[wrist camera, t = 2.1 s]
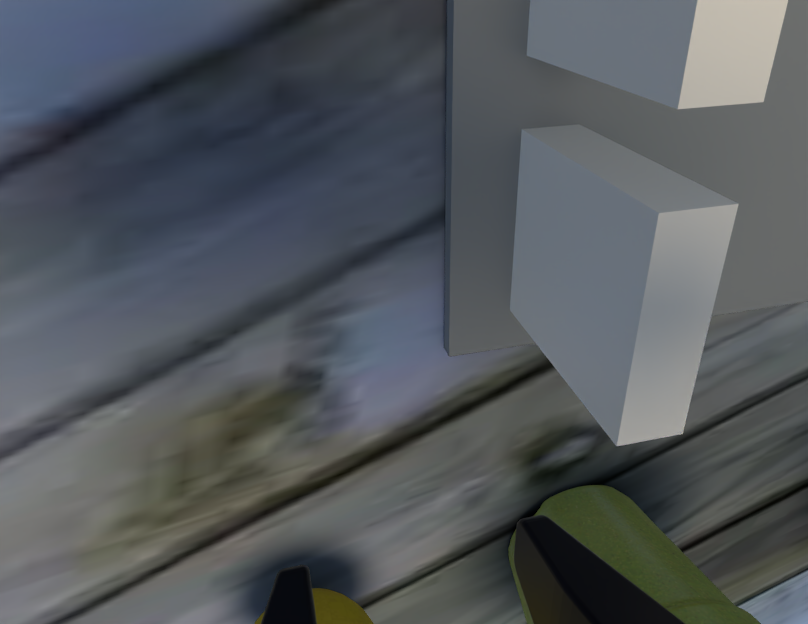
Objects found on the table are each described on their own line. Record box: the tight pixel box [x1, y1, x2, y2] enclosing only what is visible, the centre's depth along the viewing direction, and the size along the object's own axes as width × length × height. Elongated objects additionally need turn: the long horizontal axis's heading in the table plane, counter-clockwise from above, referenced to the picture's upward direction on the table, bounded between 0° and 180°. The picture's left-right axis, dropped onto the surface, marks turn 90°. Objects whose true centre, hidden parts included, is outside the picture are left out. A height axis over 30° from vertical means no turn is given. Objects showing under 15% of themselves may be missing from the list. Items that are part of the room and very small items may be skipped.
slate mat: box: [444, 0, 808, 357], centre depth 19 cm, size 15×17×1 cm
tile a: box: [510, 124, 739, 446], centre depth 17 cm, size 2×6×7 cm, turn 2°
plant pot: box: [508, 485, 761, 624], centre depth 25 cm, size 9×9×9 cm
